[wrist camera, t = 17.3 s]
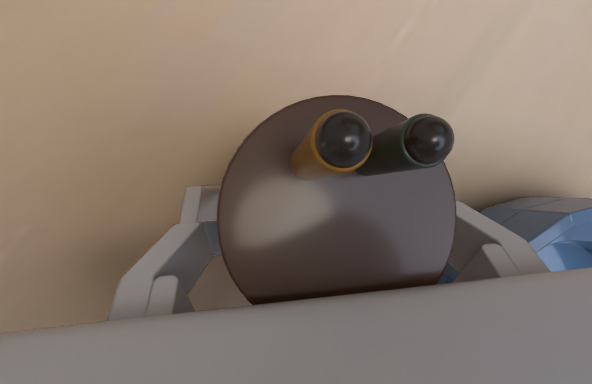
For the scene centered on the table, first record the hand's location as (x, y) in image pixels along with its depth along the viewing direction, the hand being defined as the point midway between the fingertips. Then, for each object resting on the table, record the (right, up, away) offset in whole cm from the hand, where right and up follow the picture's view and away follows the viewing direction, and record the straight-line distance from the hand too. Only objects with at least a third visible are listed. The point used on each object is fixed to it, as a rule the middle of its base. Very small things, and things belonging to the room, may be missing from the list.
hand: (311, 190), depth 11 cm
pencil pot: (0, -1, +5) cm, 5 cm away
